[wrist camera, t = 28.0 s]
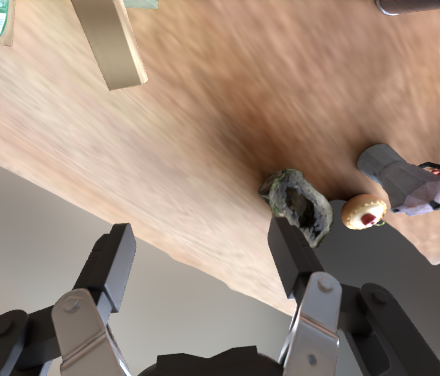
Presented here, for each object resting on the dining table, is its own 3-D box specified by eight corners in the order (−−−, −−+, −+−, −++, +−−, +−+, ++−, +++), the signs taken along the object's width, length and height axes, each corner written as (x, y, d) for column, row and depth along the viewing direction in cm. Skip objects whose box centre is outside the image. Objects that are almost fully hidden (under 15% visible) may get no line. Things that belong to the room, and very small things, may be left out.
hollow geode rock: (255, 155, 58) (228, 198, 52) (297, 147, 48) (271, 200, 42) (299, 214, 71) (282, 254, 65) (339, 218, 61) (323, 266, 55)
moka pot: (341, 160, 56) (401, 210, 40) (401, 125, 52) (496, 164, 35) (351, 183, 61) (408, 236, 44) (407, 153, 57) (493, 198, 40)
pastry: (338, 196, 63) (356, 216, 56) (378, 185, 62) (402, 204, 55) (336, 223, 70) (352, 245, 63) (372, 214, 69) (393, 234, 62)
